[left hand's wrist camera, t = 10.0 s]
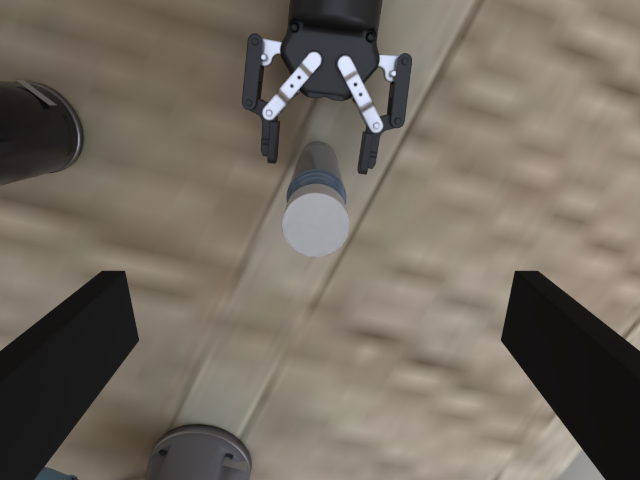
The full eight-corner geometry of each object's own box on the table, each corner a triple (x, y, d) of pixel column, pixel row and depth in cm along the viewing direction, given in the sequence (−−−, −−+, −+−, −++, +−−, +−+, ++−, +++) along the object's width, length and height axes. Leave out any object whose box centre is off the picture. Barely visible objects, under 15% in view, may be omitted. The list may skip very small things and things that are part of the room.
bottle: (342, 153, 42) (367, 209, 20) (324, 185, 43) (330, 269, 22) (310, 135, 41) (299, 173, 20) (292, 168, 42) (265, 237, 21)
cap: (357, 201, 22) (362, 213, 20) (327, 251, 23) (328, 267, 21) (303, 172, 22) (301, 180, 19) (275, 224, 23) (270, 238, 21)
